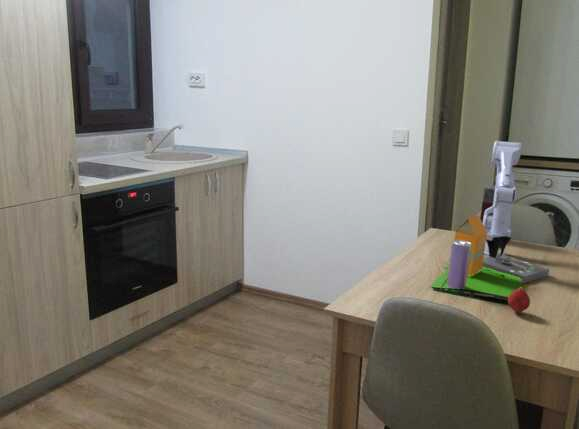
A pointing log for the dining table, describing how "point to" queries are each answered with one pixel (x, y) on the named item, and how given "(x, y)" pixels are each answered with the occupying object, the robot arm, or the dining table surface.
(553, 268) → the dining table surface
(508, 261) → the dial pointer
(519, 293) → the red round lump
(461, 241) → the beverage can
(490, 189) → the toy vending machine
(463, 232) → the orange juice
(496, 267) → the dial plate
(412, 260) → the dining table surface
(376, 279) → the dining table surface
